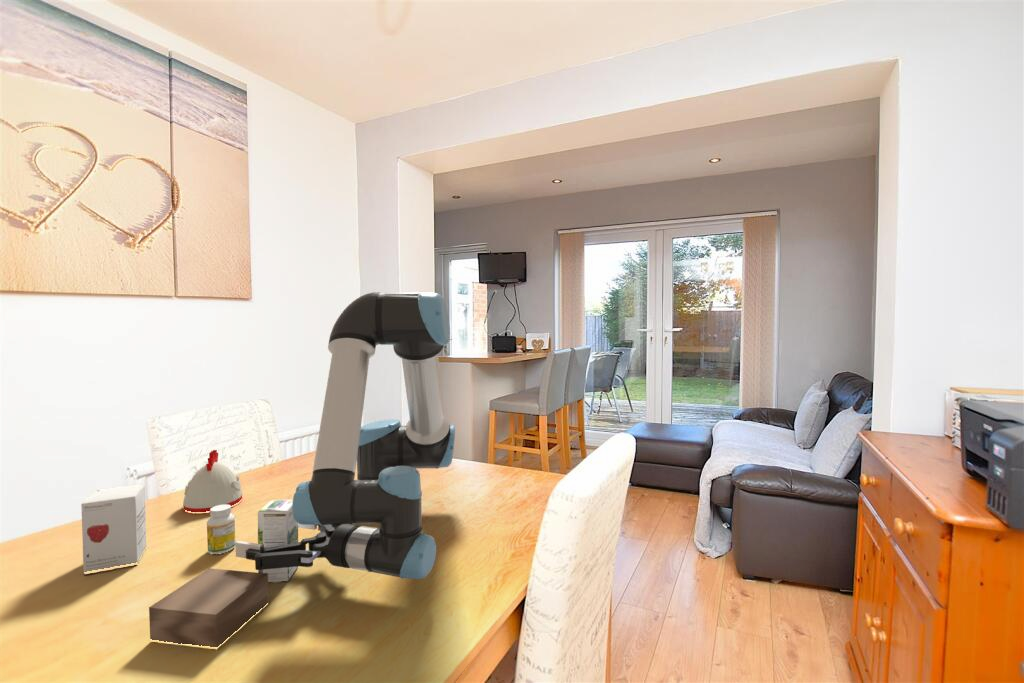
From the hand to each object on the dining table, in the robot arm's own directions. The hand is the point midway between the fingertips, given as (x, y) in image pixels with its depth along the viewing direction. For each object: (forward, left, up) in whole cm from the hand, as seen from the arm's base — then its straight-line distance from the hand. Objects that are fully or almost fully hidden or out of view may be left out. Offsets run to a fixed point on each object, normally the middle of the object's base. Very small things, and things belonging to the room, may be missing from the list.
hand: (265, 532), depth 95 cm
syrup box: (+3, +1, -8) cm, 9 cm away
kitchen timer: (-49, +7, -9) cm, 50 cm away
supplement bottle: (-18, -2, -8) cm, 20 cm away
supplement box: (-30, -18, -8) cm, 36 cm away
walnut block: (+9, -13, -9) cm, 18 cm away
